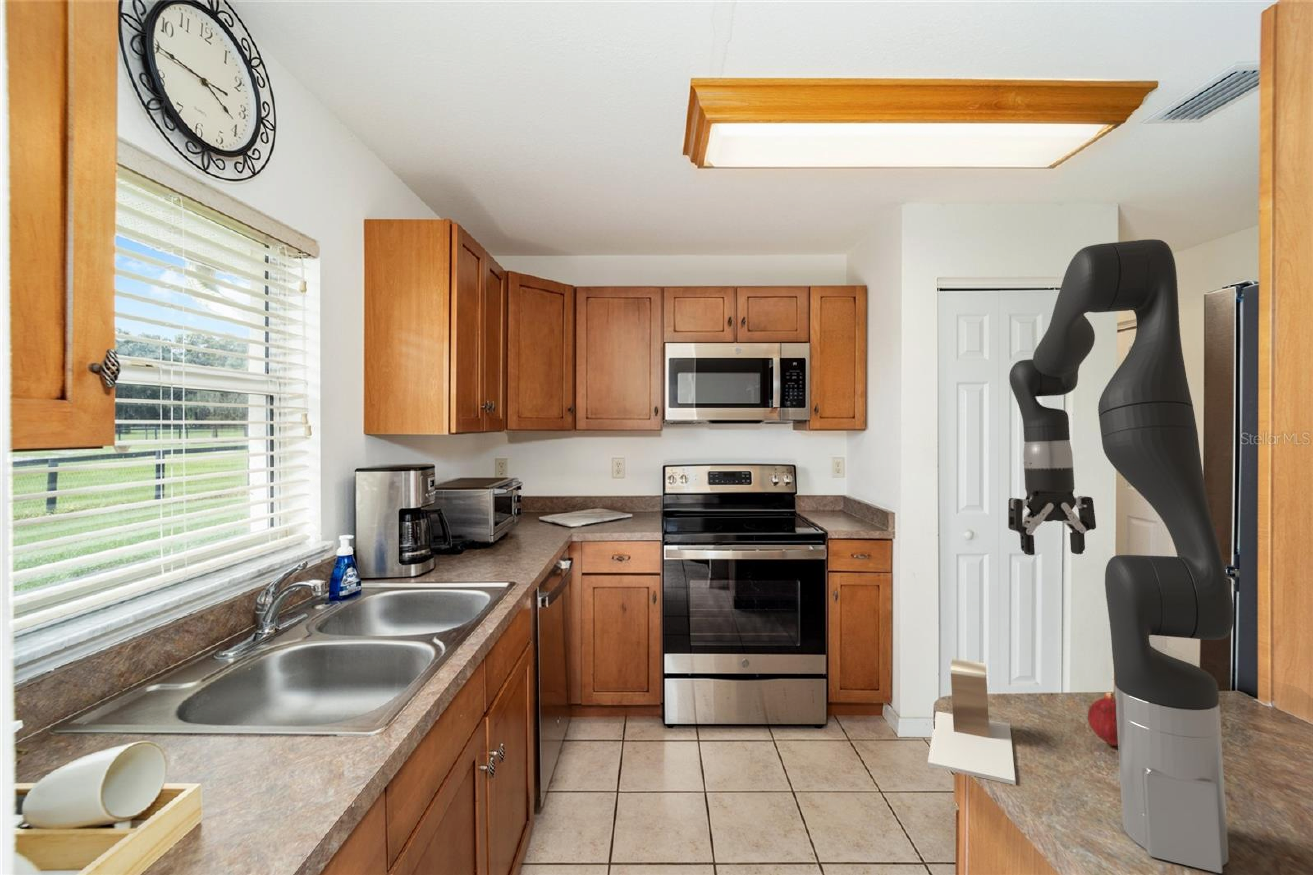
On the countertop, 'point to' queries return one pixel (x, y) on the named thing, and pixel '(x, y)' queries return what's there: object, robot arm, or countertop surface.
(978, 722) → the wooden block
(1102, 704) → the onion
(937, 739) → the mat
